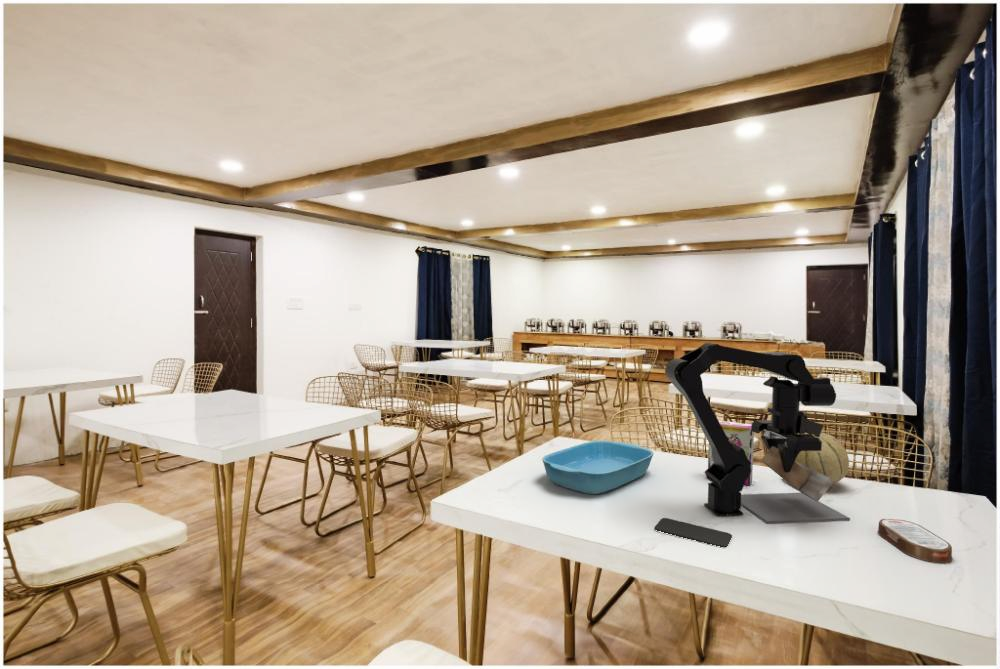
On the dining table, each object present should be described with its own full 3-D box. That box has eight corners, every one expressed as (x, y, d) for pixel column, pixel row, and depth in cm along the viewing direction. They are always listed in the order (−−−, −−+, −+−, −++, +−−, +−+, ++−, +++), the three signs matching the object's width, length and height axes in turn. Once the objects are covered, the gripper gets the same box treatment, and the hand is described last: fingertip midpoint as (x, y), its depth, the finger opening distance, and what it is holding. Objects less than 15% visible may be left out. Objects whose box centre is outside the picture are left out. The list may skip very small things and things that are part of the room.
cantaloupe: (851, 483, 141) (854, 430, 140) (843, 498, 130) (845, 440, 130) (791, 472, 151) (793, 422, 150) (779, 485, 140) (780, 431, 139)
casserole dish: (601, 456, 167) (601, 435, 167) (665, 472, 152) (665, 448, 151) (527, 484, 141) (527, 459, 141) (595, 507, 125) (596, 478, 125)
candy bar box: (707, 479, 145) (708, 422, 144) (710, 474, 149) (711, 419, 148) (750, 487, 139) (752, 427, 138) (752, 481, 143) (754, 423, 142)
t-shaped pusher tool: (778, 470, 116) (795, 449, 116) (750, 454, 128) (765, 436, 128) (817, 501, 117) (834, 481, 117) (785, 483, 129) (801, 465, 129)
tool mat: (767, 523, 115) (767, 521, 115) (729, 497, 131) (729, 494, 131) (849, 520, 117) (849, 517, 117) (802, 494, 133) (802, 492, 133)
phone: (726, 547, 103) (652, 528, 112) (726, 551, 103) (652, 532, 112) (733, 533, 109) (662, 516, 118) (733, 537, 110) (662, 520, 118)
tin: (916, 561, 98) (963, 567, 97) (918, 545, 98) (966, 551, 97) (868, 528, 113) (909, 532, 112) (870, 514, 113) (910, 518, 112)
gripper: (846, 413, 113) (843, 483, 114) (793, 398, 131) (790, 458, 132) (798, 414, 112) (795, 483, 113) (751, 398, 131) (749, 458, 131)
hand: (782, 469), depth 122 cm, fingers closed on t-shaped pusher tool, 3 cm apart
